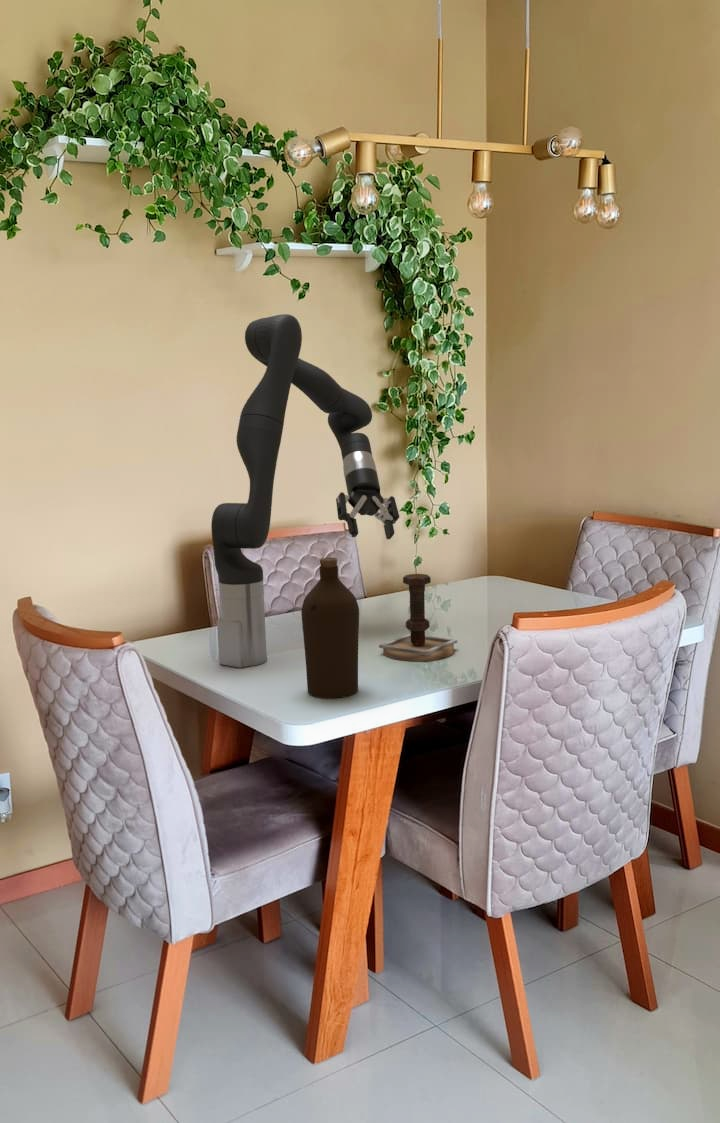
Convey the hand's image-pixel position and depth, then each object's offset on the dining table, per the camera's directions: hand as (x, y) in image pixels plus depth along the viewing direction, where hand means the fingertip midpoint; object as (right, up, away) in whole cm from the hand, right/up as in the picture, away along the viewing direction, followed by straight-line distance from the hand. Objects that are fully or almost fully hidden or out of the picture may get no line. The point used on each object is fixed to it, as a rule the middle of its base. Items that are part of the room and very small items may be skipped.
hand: (372, 536), depth 221 cm
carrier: (+10, -25, -10) cm, 28 cm away
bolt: (+9, -24, -10) cm, 27 cm away
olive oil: (-8, -30, -36) cm, 48 cm away
